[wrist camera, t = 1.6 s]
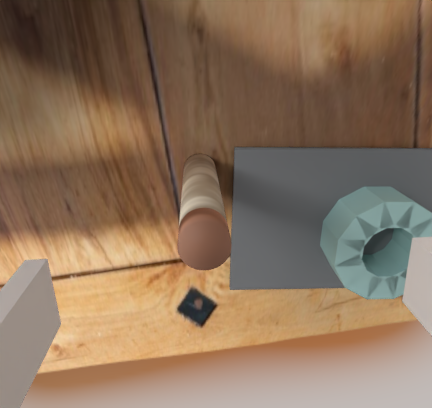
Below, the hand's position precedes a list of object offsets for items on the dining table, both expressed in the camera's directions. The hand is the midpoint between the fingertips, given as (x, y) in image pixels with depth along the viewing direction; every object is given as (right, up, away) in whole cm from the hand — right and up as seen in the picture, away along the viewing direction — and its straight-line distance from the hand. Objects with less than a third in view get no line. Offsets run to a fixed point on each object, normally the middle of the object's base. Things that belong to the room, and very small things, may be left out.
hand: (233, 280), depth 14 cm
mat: (+11, +1, +23) cm, 25 cm away
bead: (+14, 0, +23) cm, 26 cm away
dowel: (-2, +6, +20) cm, 21 cm away
